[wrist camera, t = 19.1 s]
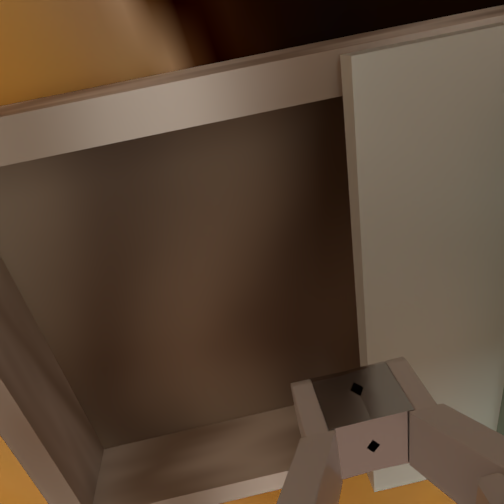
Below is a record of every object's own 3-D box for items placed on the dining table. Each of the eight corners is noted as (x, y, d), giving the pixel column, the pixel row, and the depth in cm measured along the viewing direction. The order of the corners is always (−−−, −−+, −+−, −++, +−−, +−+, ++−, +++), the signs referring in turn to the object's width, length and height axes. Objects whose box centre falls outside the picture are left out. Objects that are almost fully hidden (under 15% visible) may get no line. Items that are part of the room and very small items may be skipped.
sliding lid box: (635, -22, 13) (781, -41, 9) (550, 350, 20) (617, 408, 17) (-96, 125, 12) (-196, 156, 9) (92, 456, 19) (73, 538, 16)
